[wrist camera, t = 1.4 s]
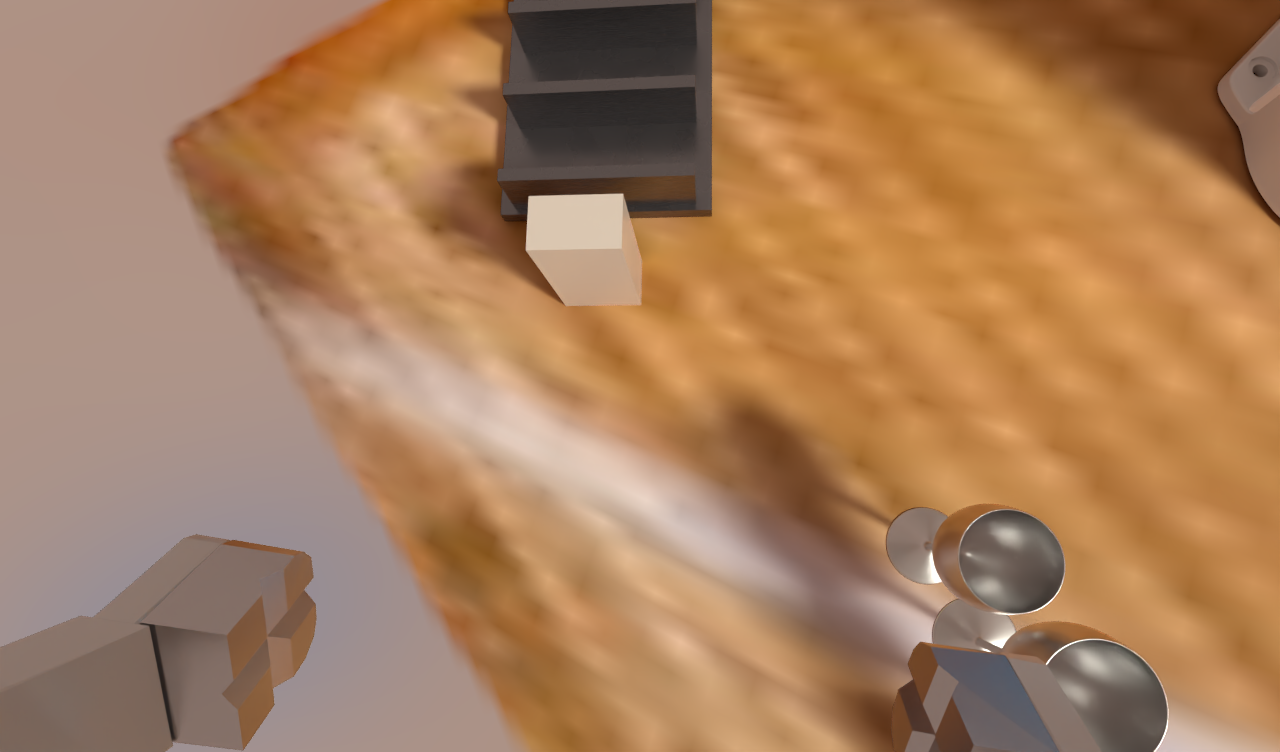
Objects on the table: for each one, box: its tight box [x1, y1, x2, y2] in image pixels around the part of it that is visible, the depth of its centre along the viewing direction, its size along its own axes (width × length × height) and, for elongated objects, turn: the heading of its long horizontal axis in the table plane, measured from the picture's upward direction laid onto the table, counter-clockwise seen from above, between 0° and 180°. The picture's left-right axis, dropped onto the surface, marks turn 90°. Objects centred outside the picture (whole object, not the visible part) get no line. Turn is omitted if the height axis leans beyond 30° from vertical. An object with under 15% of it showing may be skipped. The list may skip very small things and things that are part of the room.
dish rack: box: [497, 0, 712, 221], centre depth 45 cm, size 19×14×5 cm
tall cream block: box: [526, 194, 642, 306], centre depth 40 cm, size 3×5×10 cm, turn 89°
